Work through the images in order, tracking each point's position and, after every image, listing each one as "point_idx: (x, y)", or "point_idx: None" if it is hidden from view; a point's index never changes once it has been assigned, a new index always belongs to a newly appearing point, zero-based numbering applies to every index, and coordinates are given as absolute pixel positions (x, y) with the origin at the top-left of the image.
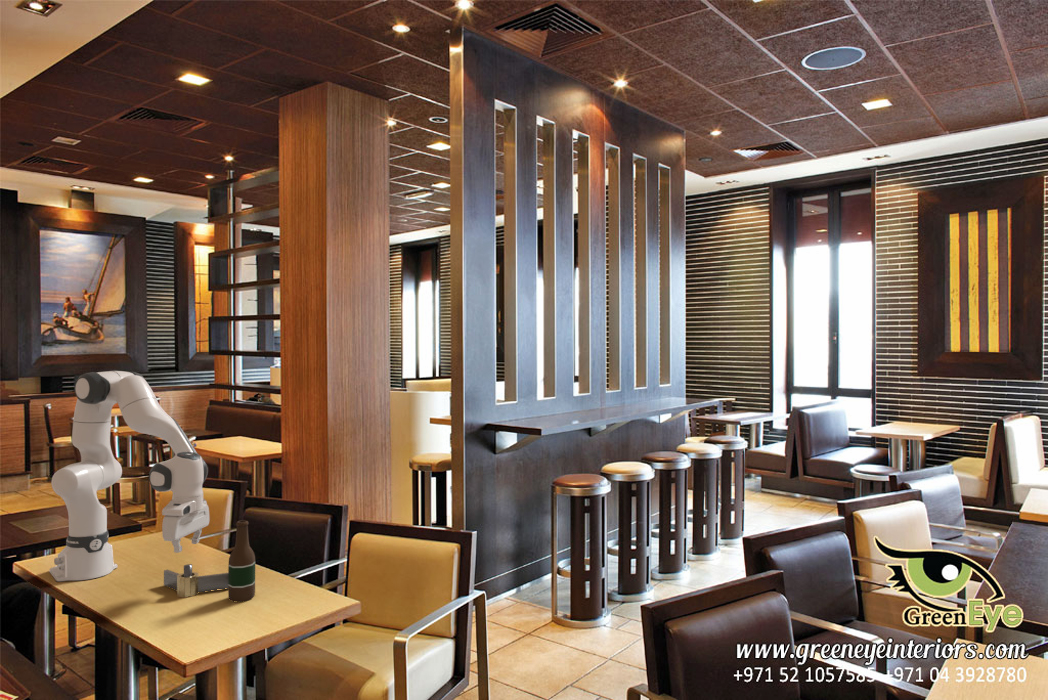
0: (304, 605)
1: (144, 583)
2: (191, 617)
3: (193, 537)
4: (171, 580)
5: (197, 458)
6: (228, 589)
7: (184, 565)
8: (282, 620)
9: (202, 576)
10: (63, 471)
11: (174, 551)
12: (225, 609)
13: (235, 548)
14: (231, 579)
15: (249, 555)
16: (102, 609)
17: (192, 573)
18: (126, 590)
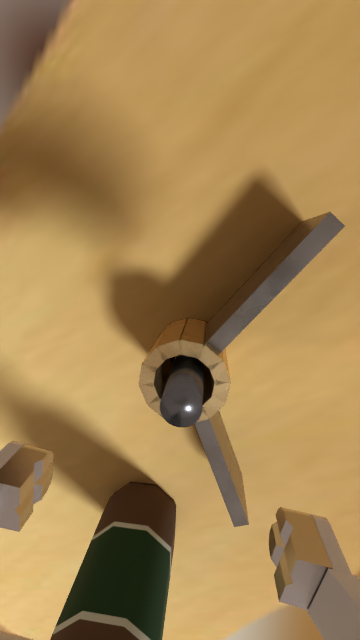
0: None
1: (356, 106)
2: (2, 421)
3: (328, 574)
4: (261, 273)
5: None
6: (118, 509)
7: (181, 391)
8: (6, 598)
9: (202, 427)
10: None
11: (9, 446)
12: (60, 486)
13: None
14: (88, 560)
15: None
16: (41, 94)
17: (212, 393)
18: (262, 66)
